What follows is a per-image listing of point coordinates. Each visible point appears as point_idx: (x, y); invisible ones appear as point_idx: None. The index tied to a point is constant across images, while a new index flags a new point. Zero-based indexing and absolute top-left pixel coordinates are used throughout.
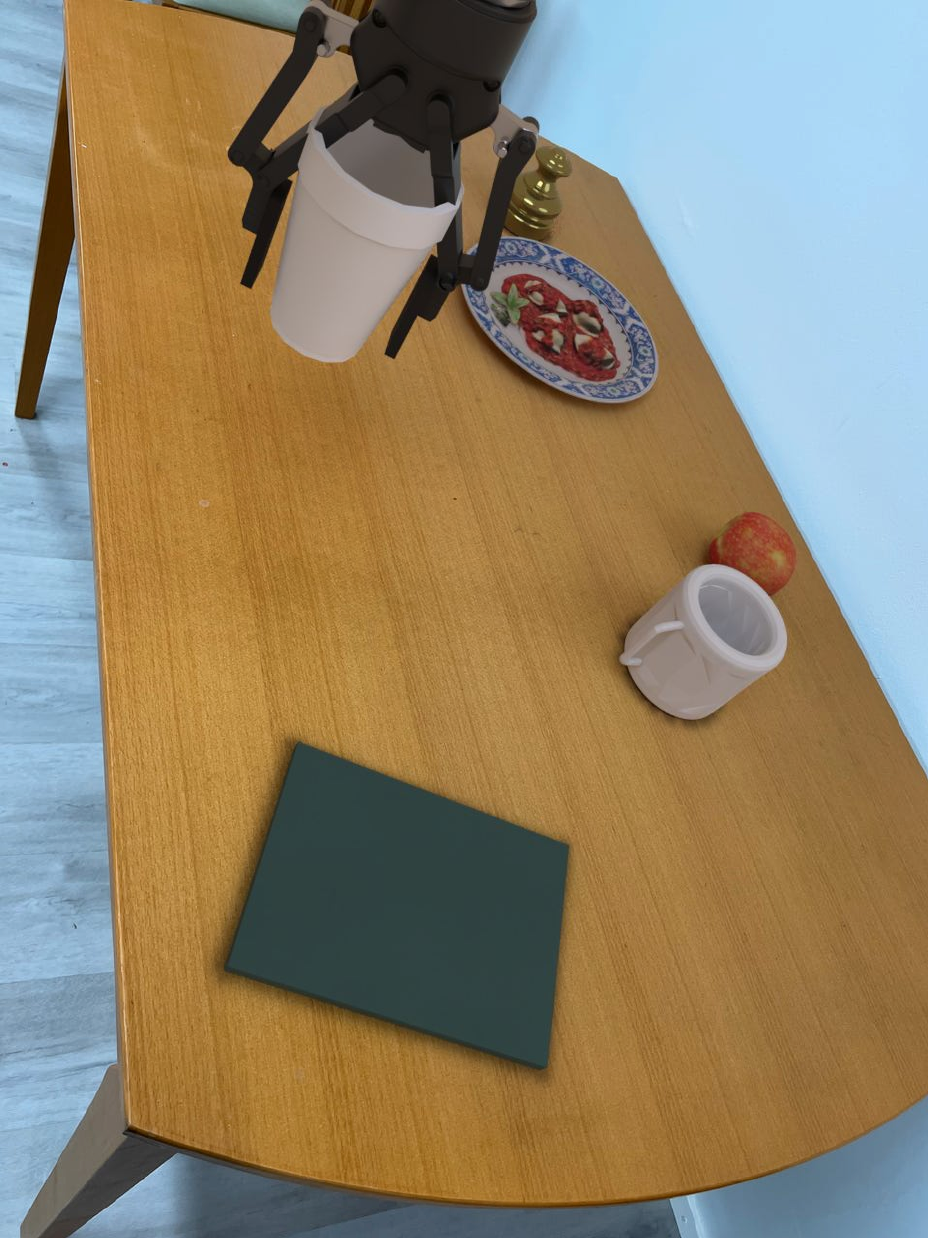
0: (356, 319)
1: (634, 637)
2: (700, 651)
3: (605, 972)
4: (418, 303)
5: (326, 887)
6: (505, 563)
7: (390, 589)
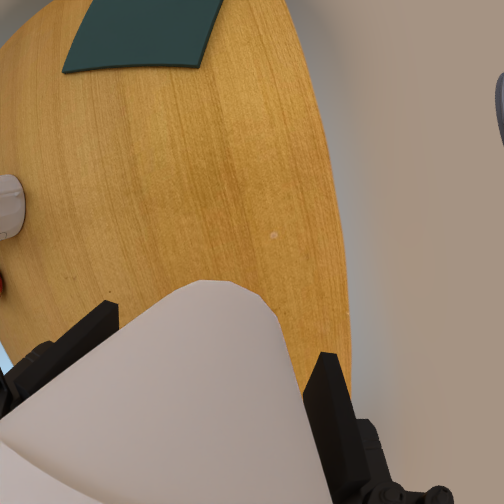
0: (147, 317)
1: (17, 210)
2: None
3: (64, 34)
4: (49, 355)
5: (183, 6)
6: (77, 249)
7: (140, 201)
